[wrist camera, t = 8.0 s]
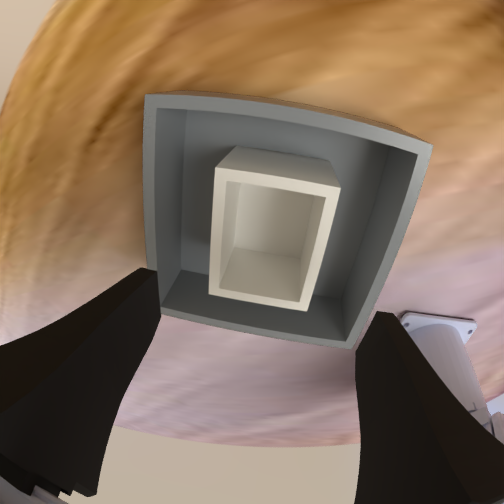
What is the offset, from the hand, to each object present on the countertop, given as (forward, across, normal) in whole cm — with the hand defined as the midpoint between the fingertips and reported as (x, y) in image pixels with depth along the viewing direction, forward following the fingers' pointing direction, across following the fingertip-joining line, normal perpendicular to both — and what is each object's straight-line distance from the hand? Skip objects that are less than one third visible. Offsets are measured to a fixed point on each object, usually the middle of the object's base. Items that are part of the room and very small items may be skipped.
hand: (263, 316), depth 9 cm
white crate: (+9, 0, 0) cm, 9 cm away
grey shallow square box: (+9, 0, 0) cm, 9 cm away
